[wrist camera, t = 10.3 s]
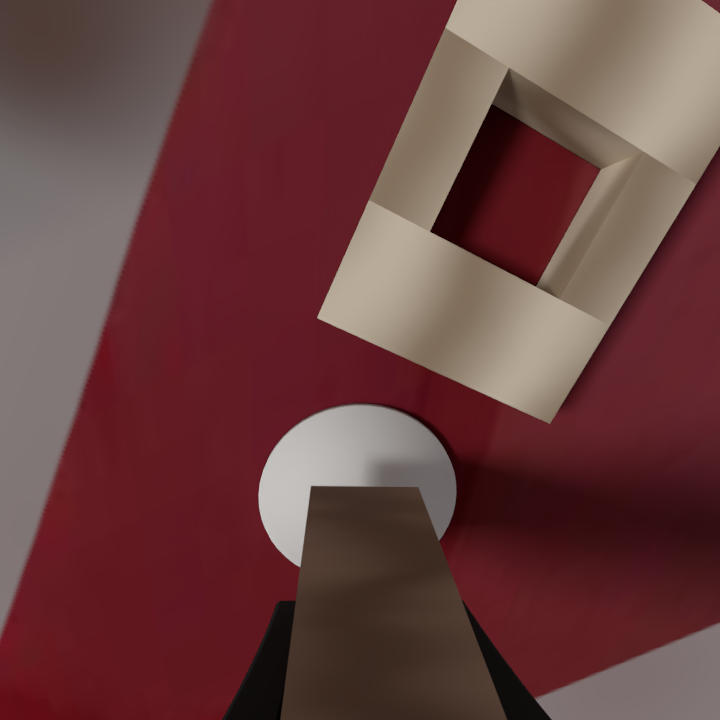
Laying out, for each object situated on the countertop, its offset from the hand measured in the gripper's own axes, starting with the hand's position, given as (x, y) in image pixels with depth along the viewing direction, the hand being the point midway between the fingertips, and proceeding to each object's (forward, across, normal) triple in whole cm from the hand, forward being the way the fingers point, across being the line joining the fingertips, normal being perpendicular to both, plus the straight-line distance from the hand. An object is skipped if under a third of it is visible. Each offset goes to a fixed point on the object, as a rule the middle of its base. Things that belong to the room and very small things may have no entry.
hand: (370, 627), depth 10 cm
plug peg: (+3, 0, 0) cm, 4 cm away
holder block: (+6, -5, -13) cm, 15 cm away
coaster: (+6, 0, 0) cm, 6 cm away
